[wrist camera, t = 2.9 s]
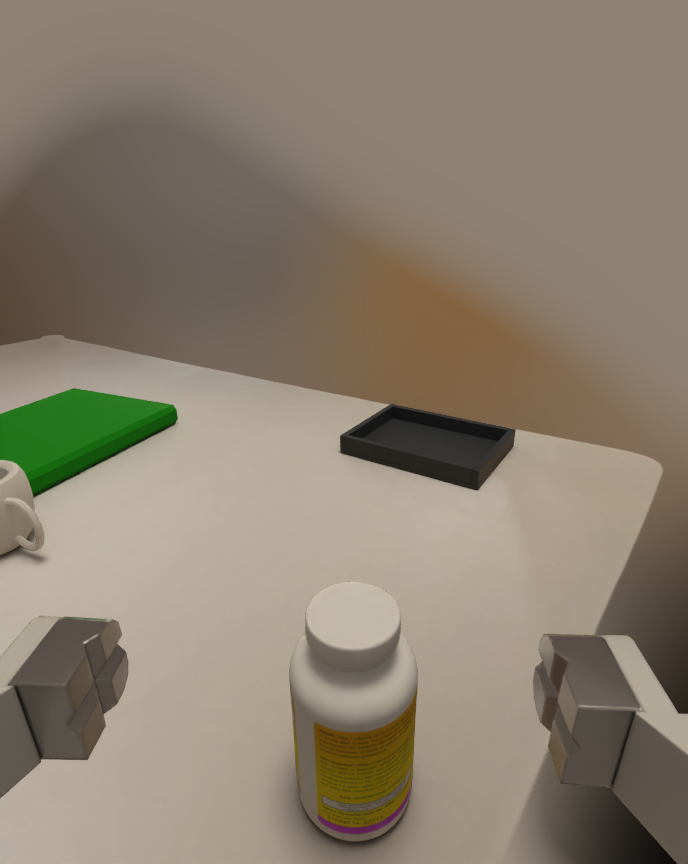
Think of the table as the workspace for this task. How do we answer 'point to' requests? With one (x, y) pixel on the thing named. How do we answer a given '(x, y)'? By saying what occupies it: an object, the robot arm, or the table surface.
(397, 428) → the tray
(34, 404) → the book
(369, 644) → the supplement bottle
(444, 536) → the table surface
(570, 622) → the table surface
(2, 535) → the mug
